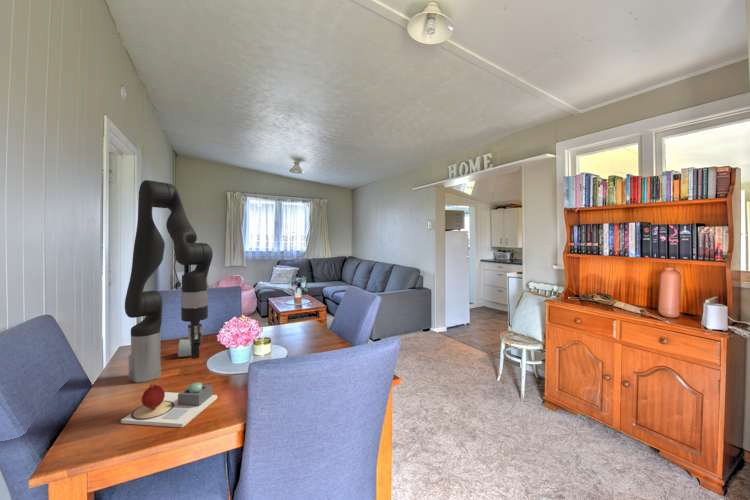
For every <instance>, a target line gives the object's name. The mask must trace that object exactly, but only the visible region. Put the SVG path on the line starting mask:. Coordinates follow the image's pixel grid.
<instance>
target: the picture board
mask: <svg viewBox="0 0 750 500" xmlns="http://www.w3.org/2000/svg"><path fill="white" fill-rule="evenodd" d="M164 392H165V397H164V400H163V402H162V403H161V404H160V405H159V406H158V407H156V408H155V409H153V410H152V409H150V408H147V407H145V406H144V405H143V404H142V405H140V406H139V407H137V408H135V409H134V410H132V412H131V413H129V414H128V415H126V416H125V417H123V418H121V419H120V424H126V425H129V424H130V425H140V426H141V425H142V426H143V425H144V426H156V427H169V428H170V427H172V428H174V427H175V428H184V427H185V426H186V425H187V424H189V422H191V421H192V420H193V419H194V418H195V417H197V416H198V415H199V414H201V412H203V411H204V410H205V409H206V408H207V407H209V406H210V405H211V404H212V403H213V402H215V401H217V399H218V395H217V394H212V396H211V397H210V398H209V399H207V400H206V401H205V402H204V403H202V404H201V405H200V406H185V405H178V394H179V393H180V392H169V391H164Z"/></svg>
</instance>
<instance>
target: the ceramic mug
mask: <svg viewBox="0 0 750 500" xmlns="http://www.w3.org/2000/svg"><path fill="white" fill-rule="evenodd" d="M190 344H191V343H190V341H189V338H187V339H179V340H178V345H177V346H178V347H177V358H185V357H191V347H190ZM200 347H201V346H200ZM200 347H199V349H200Z"/></svg>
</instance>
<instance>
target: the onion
mask: <svg viewBox="0 0 750 500" xmlns="http://www.w3.org/2000/svg"><path fill="white" fill-rule="evenodd" d="M165 392H166V391H165V390H164V389H163V388H162V387H161V386H159V385H157V384H155V383H151V384H150V385H149V387H148V388H146V389H145V390H144V391H143V393H142V396H141V404H142V405H144V406H145V407H147V408H150V409H152V410H153V409H155V408H156V407H158V406H159V405H160V404H161V403H162V402H163V400H164V397H165Z"/></svg>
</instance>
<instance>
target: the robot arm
mask: <svg viewBox="0 0 750 500" xmlns="http://www.w3.org/2000/svg"><path fill="white" fill-rule="evenodd" d="M137 198H138V201H137V207H138V208H137V224H136V232H135V239H134V244H133V249H132V252H133V253H132V261H131V262H132V263H131V271H130V277H129V282H128V286H127V291H126V294H125V300H124V312H125V314H126V316H127V317H128V318H131V319H134V318H139V317H140V318H141V317H144V319H143V320H141V321H139V322H138V323H137V324H134V325H133V326H132V327H131V328H130V354H129V355H128V381H131V382H133V383H146V382H150V381H153V380H157V379H158V378H160V377H161V375H162V369H161V368H162V358H161V356H162V355H161V327H162V321H163V319H162V316H163V298H162V295H161V293H160V292H159V291H158V290H146V291H144V289H145V286H146V283H147V282H148V280H149V279H150V278H151V277H152V275H153V274H154V273H155V272H156V270H158V269H159V267H160V265H161V264H162V262H163V260H164V253H165V249H166V243H165V240H164V238H163V236H162V234H161V233H160V231H159V229H158V228H157V226H156V224H155V221H154V218H153V208H157V209H158V208H160V209H168V210H169V211H170V214H169V215H168V217H167V220H166V231H167V233H168V234H169V236H170V238H171V240H172V242H173V247H174V259H175V261H176V262H177V263H178V264H179V265H182V266H195V265H196V266H195V269H194V270H192V271H188V272H186V273H184V274H182V276H181V297H180V308H181V309H180V310H181V312H180V316H181V317H180V319H181V321H182V322H185V323H188V322H189V323H190V324H187V332H188V339H189V341H190V343H191V344H190V347H191V356H190V358H191V359H192V360H195V359H199V358H200V348H199V347H201V343H202V342H201V340H202V331H203V325H202V323H200V321H204V320H206V319H208V318H209V296H208V280H207V279H208V274H209V271H210V267H211V263H212V260H213V256H214V255H213V254H214V253H213V249H212V247H211V245H210V244H208V243H206V242H197V240H198V236H197V233H196V231H195V230H194V228H193V226H192V225H191V223H190V221H189V219H188V218H187V214H186V211H185V209H184V205H183V202H182V199H181V196H180V194H179V191H178V189H177V188H176V186H175V185H174V184H172V183H168V182H163V181H156V180H149V179H145V180H143V181H142V182H141V184H140V186H139V189H138V197H137Z"/></svg>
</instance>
